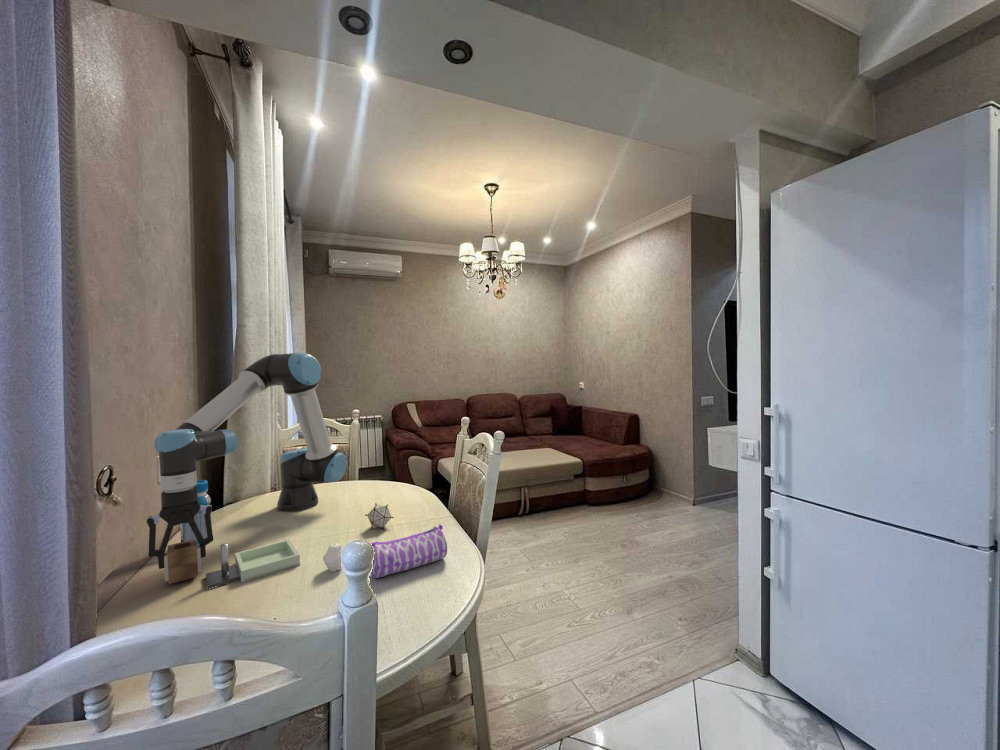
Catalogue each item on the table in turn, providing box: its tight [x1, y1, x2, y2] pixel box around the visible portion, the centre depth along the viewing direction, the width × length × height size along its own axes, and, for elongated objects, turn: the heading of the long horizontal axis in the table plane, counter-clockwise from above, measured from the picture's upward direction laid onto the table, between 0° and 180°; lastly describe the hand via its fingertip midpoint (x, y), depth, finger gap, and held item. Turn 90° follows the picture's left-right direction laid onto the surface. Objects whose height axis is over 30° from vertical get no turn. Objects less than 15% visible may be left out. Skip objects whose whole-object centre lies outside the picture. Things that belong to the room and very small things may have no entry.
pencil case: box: [368, 523, 448, 579], centre depth 110 cm, size 22×9×10 cm, turn 127°
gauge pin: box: [205, 542, 241, 590], centre depth 106 cm, size 8×8×9 cm
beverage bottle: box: [179, 479, 213, 545], centre depth 129 cm, size 8×8×20 cm
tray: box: [234, 539, 301, 583], centre depth 114 cm, size 14×14×3 cm
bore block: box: [166, 539, 199, 585], centre depth 106 cm, size 6×6×8 cm
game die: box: [364, 502, 395, 531], centre depth 139 cm, size 9×8×10 cm
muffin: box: [322, 543, 344, 572], centre depth 110 cm, size 6×6×7 cm
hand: (183, 574), depth 106 cm, fingers closed on bore block, 6 cm apart
